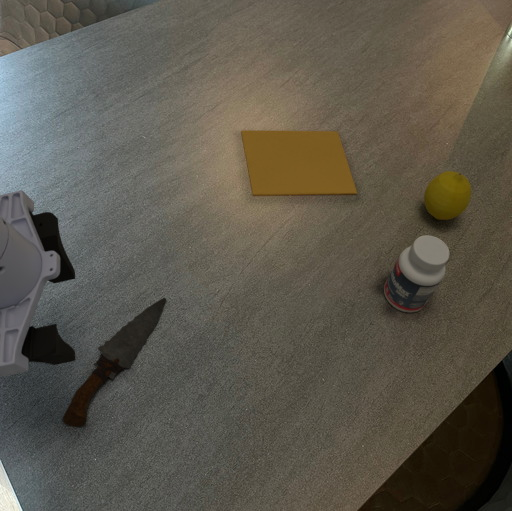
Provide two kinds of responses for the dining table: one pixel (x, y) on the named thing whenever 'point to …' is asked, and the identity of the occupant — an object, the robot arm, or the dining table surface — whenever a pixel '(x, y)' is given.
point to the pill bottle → (417, 274)
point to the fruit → (447, 195)
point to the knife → (114, 360)
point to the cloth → (297, 163)
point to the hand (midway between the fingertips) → (64, 317)
